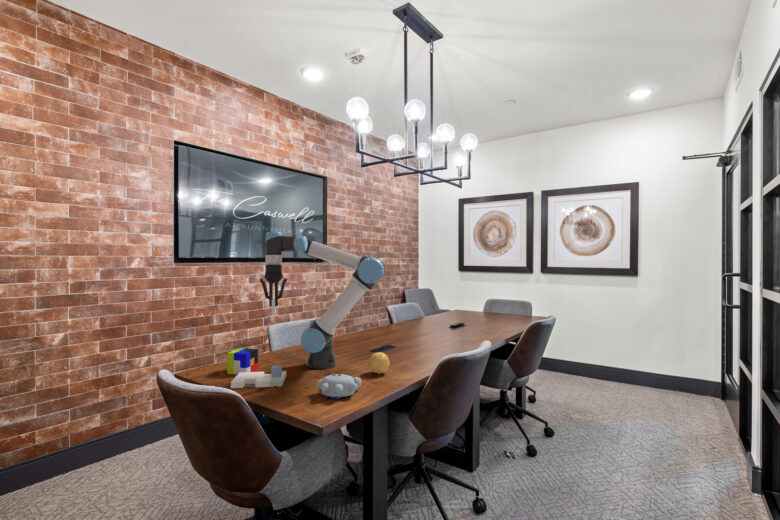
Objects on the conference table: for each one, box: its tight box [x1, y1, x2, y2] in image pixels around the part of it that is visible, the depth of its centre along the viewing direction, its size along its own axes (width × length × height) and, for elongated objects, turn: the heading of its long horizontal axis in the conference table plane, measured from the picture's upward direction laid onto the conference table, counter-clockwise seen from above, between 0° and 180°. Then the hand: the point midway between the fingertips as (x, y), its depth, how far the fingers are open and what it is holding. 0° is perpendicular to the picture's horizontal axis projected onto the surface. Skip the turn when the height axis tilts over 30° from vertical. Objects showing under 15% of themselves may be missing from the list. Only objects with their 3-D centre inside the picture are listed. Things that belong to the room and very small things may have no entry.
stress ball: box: [368, 351, 391, 375], centre depth 184 cm, size 10×10×10 cm
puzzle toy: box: [226, 347, 259, 375], centre depth 188 cm, size 10×10×10 cm
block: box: [270, 364, 283, 377], centre depth 173 cm, size 4×4×4 cm
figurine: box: [315, 373, 362, 400], centre depth 158 cm, size 17×8×20 cm
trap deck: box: [230, 370, 288, 389], centre depth 172 cm, size 21×14×2 cm, turn 97°
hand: (273, 313), depth 186 cm, fingers closed
